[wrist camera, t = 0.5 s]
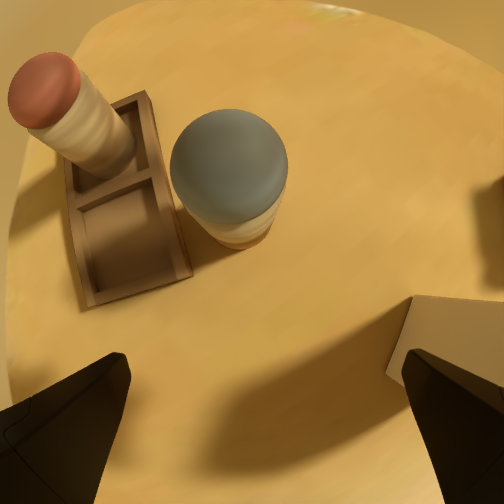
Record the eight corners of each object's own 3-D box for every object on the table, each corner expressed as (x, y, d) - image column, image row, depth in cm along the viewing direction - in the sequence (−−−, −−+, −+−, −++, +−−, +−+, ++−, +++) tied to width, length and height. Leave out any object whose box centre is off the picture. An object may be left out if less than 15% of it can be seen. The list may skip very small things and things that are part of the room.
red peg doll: (131, 178, 21) (36, 96, 8) (82, 181, 21) (-19, 119, 8) (141, 124, 22) (72, 25, 9) (93, 130, 21) (14, 51, 9)
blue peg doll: (271, 251, 21) (298, 216, 9) (204, 248, 21) (142, 211, 9) (273, 186, 22) (297, 87, 9) (208, 184, 22) (164, 86, 9)
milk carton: (383, 373, 21) (554, 488, 2) (412, 293, 21) (623, 306, 2) (438, 385, 20) (586, 461, 2) (464, 314, 21) (631, 335, 2)
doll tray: (194, 276, 21) (188, 276, 19) (100, 304, 21) (87, 307, 19) (151, 101, 23) (144, 89, 21) (73, 137, 22) (63, 128, 20)
